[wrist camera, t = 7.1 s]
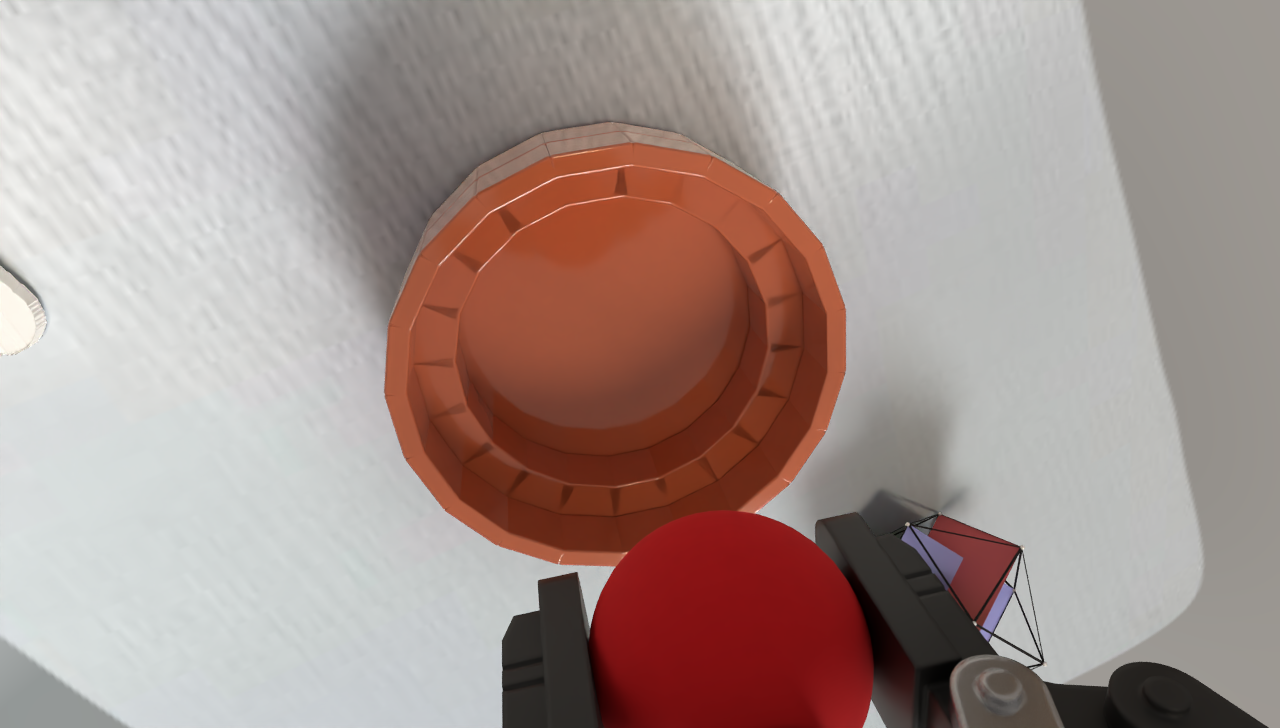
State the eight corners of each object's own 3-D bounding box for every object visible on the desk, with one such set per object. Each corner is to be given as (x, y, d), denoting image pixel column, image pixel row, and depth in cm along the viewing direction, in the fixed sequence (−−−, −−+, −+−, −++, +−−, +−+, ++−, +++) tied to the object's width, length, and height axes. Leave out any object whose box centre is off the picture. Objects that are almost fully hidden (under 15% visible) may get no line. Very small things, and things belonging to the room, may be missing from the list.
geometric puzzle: (964, 453, 28) (970, 676, 23) (1070, 528, 30) (1093, 741, 26) (819, 497, 33) (800, 685, 28) (919, 557, 36) (917, 739, 31)
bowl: (351, 159, 22) (318, 192, 18) (785, 90, 23) (845, 107, 19) (457, 519, 28) (450, 605, 24) (798, 448, 29) (846, 518, 25)
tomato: (555, 488, 13) (587, 754, 8) (805, 436, 14) (970, 661, 9) (595, 673, 15) (640, 971, 10) (811, 622, 16) (948, 887, 11)
